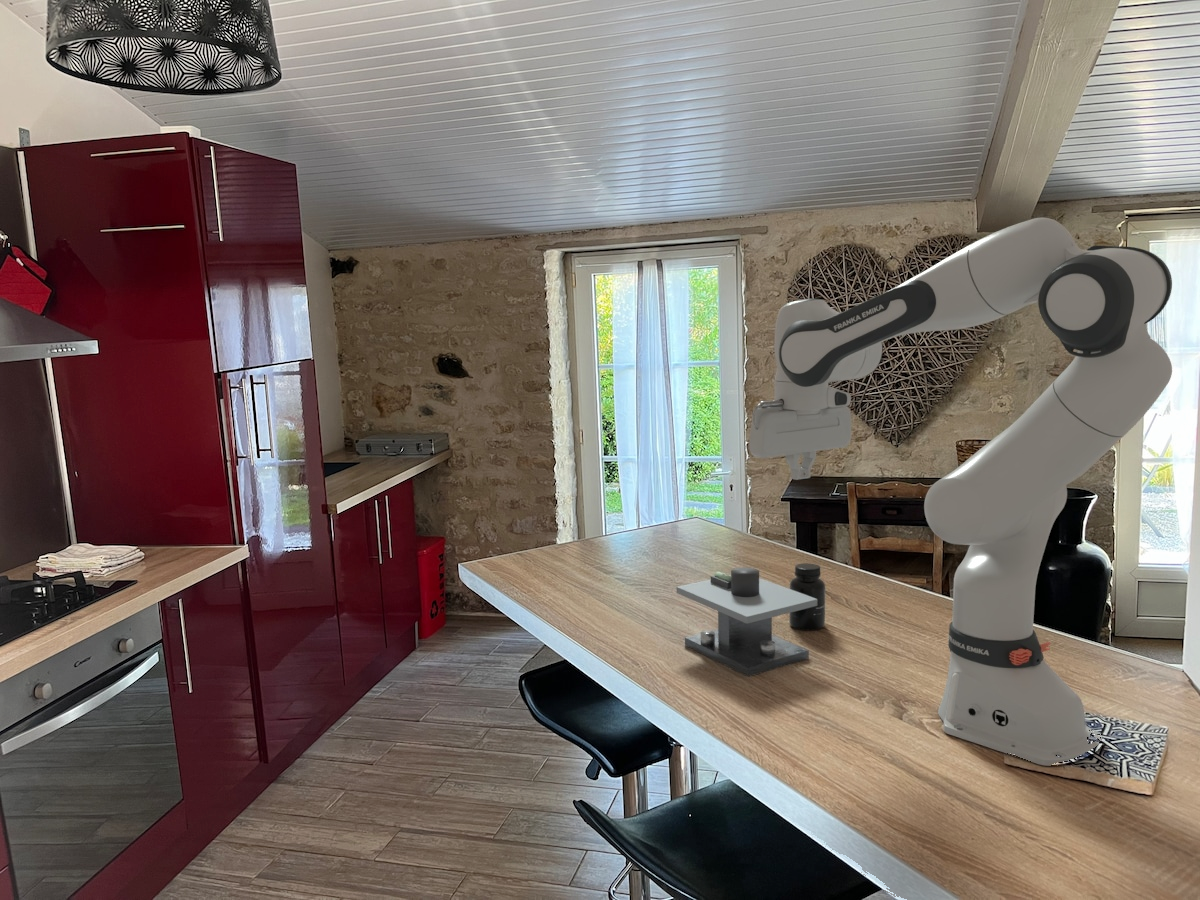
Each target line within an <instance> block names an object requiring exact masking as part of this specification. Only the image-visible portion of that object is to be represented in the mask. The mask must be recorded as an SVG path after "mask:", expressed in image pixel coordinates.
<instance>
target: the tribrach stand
mask: <svg viewBox="0 0 1200 900" xmlns="http://www.w3.org/2000/svg"><path fill="white" fill-rule="evenodd" d="M772 625H773V617H771V618H767V619H763V620H759V621H755V622H752V623H748V624H747V623H744V622H742V621H740V620H737V619H735V618H733V617H730V616H728V615H726V614H724V613H721V612H719V611H717V626H718V627H717V629H712V630H703V631H701V632H700V633H696V634H694V635H690V636H685V637H684V646H685V647H686V648H688V649H691V650H693V651H695V652H697V653H699V654H701V655H704V656H706V657H707V658H709V659H712V660H713V661H715V662H716V663H719V664H721V665H724V666H725V667H728V668H729V669H731V670H734V671H735V672H738V673H739V674H742V675H744V676H746V677H752V676H754V675H759V674H761V673H762V674H763V673H765V672H768V671H772V670H775V669H778V668H783V667H787V666H789V665H792V664H796V663H800V662H802V661H806V660H809V659H810V649H807V648H804V647H802V646H800V645H798V644H795V643H792V642H790V641H788V640H785V639H783V638H780V637H778V636H776V635H773V629H772V628H773V626H772Z"/></svg>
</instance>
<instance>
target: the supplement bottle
mask: <svg viewBox="0 0 1200 900" xmlns="http://www.w3.org/2000/svg"><path fill="white" fill-rule="evenodd" d="M794 566H795V567H794V578H792V579H791V580H790V582H789V589H791V590H794V591H797V592H799V593H802V594H805V595H807V596H810V597H813V598H816V599H817V606H814V607H810V608H806V609H802V610H799V611H795V612H791V613H788V614H789V616H788V618H789V624H790V627H792V628H794V629H796V630H800V631H818V630H820V629H823V627H825V625H826V624H825V623H826V622H825V621H826V620H825V619H826V584H825V582H824V580H823V579H822V578H820V577H821V566H820V565H819V564H815V563H798V564H796V565H794Z"/></svg>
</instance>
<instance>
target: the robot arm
mask: <svg viewBox="0 0 1200 900" xmlns="http://www.w3.org/2000/svg"><path fill="white" fill-rule="evenodd" d="M1172 289H1173V278H1172V274H1171V271H1170V269H1169V268H1168V265H1167V264H1166V263H1165V262H1164V260H1162V259H1161V258H1160V256H1158V255H1156V254H1155V253H1153V252H1151V251H1150V250H1149V251H1148V250H1146V249H1142V248H1139V247H1133V246H1120V245H1119V246H1113V245H1112V246H1111V245H1110V246H1109V245H1092V246H1090V247H1088V248H1087V249H1083V248H1080V247H1079V246H1078V245H1077V244H1076V242H1075V239H1074V238H1073V236H1072V234H1071V233H1070V231H1069V230H1068V229H1067V228H1066V227H1065V226H1064V225H1063V224H1061V222H1059V221H1058V220H1056V219H1052V218H1049V217H1036V218H1032V219H1027V220H1025V221H1022V222H1019V223H1015V224H1013V225H1010V226H1007V227H1005V228H1002V229H1000V230H997V231H995V232H993V233H990V234H988V235H986V236H984V237H982V238H980V239H978V240H976V241H974V242H972V243H970V244H968V245H967V246H964V247H963V248H962V249H961V248H960V250H958V251H956V252H954V253H953V254H951V255H950V256H947V257H945V258H944V259H942V260H941V261H939V262H938V263H937V262H936V263H935V264H934V265H932V266H931V267H929V268H927V269H926V270H924V271H922V272H920V273H918V274H917V275H914V276H912V277H911V278H909V279H907V280H906V281H904V282H902V283H901V284H899V285H897V286H895V287H893V288H892V289H890V290H887V291H885V292H883V293H880V294H878V295H877V296H874V297H872V298H870V299H868V300H866V301H863V302H861V303H859V304H857V305H855V306H853V307H850V308H849V309H846V310H843V311H842V312H839V311H837V310H836V309H834V308H833V307H830V305H829V304H828V303H827V302H826V301H825V300H823V299H820V298H805V299H802V300H801V299H799V300H795V301H790V302H788V303H785V304H784V305H783V306H781V307H780V309H779V310H778V314H777V315H776V316H777V317H776V321H775V328H774V329H775V330H774V357H775V360H776V371H775V376H774V399H773V400H768V401H767V400H763V401H760V402H759V403H758V404H757V405H756V406H755V407H754V409H752V420H751V424H750V430H749V431H750V433H749V443H748V448H749V452H750V453H751V456H753V457H756V458H761V459H769V458H777V457H783V456H785V461H786V463H787V465H788V467H789V469H790V478H791V479H792V480H796V481H798V480H803V479H810V478H811V476H812V475H811V474H812V473H811V471H812V468H813V465H814V463H815V460H816V459H817V452H819V451H826V450H828V451H829V450H835V449H842V448H847V447H848V446H849V444H850V443H851V440H852V413H851V410H850V409H849V407H848V406H850V404H851V402H852V396H851V393H849V392H848V391H847V392H846V391H843V390H840V389H838V388H836V387H833V386H829V383H834V382H835V383H836V382H842V381H843V382H844V381H850V380H857V379H861V378H864V377H866V376H869V375H871V374H872V373H874V371H876V370H877V368H878V367H879V365H880V363H881V361H882V357H883V350H884V347H883V343H884V342H885V341H887V340H890V339H893V338H897V337H899V336H905V335H910V334H916V333H927V332H939V331H940V332H941V331H957V330H964V329H968V328H969V329H970V328H973V327H978V326H981V325H984V324H988V323H991V322H993V321H996V320H999V319H1001V318H1004V317H1006V316H1008V315H1010V314H1012V313H1014V312H1017V311H1019V310H1020V309H1021V310H1022V309H1023V308H1026V307H1027V306H1030V305H1034V304H1036V303H1038V304H1037V306H1038V311H1039V313H1040V316H1041V318H1042V320H1043V323H1044V324H1045V325H1046V326H1047V328H1048V329H1049V330H1050V332H1051V333H1053V334H1054V335H1055V336H1056V337H1057V338H1058V339H1059V341H1060V343H1061V344H1062V346H1063V347H1064V349H1065V350H1066V352H1068V353H1069V354H1070V355H1072V356H1075V357H1074V359H1073V360H1072V361H1071V363H1070V364H1069V365H1068V366H1067V367H1066V368H1065V369H1064V370H1063V371H1062V372H1061V374H1059V376H1057V378H1056V379H1055V380H1053V382H1052V383H1051V384H1050V385H1049V386H1048V387H1047V388H1046V389H1045V390H1044V391H1043V392H1042V393H1041V394H1040V395H1039V397H1037V399H1036V400H1035V401H1034V402H1033V403H1032V404H1030V406H1029V407H1028V408H1027V409H1026V410H1025V411H1024V412H1023V414H1021V415H1020V416H1019V417H1018V418H1017V419H1016V420H1015V421H1014V422H1013V423H1012V424H1011V425H1010V426H1008V427H1007V428H1006V429H1004V430H1003V431H1002V432H1000V433H999V434H997V436H995V437H993V439H991V440H989V442H987V443H986V444H985V445H984V446H982V447H981V448H980V449H979V450H977V451H975V453H974V454H972V455H971V456H970V457H969V458H967V460H965V461H964V462H962V464H960V465H959V466H958V467H957V468H956V469H954V470H953V471H951V472H950V473H948V474H946V475H945V476H943V477H942V478H940V479H939V480H937V481H935V482H934V483H932V485H931V486H930V487H929V489H928V491H927V493H926V494H925V498H924V504H923V510H924V516H925V518H926V519H925V520H926V522H927V525H928V526H929V528H930V529H931V531H932V533H934V535H936V536H937V537H938V538H939V539H940V540H942V541H944V542H946V543H949V544H952V545H961V546H968V549H967V552H966V553H965V556H964V558H963V560H962V561H961V563H960V564H959V565H958V566H957V568H956V570H955V572H954V577H953V592H952V593H953V595H952V619H951V620H952V621H951V622H950V623H949V627H948V644H947V645H948V649H949V652H950V657H949V666H948V673H947V677H946V678H947V679H946V683H945V687H944V692H943V694H942V699H941V702H940V704H939V707H938V709H937V713H938V715H939V717H940V719H941V721H942V722H943V725H942V730H943V732H944V733H945V734H948V735H950V736H953V737H956V738H959V739H962V740H964V741H968V742H971V743H973V744H976V745H981V746H983V747H985V748H989V749H992V750H995V751H998V752H1001V753H1003V754H1007V753H1008V754H1007V755H1010V753H1011V754H1015V755H1016V756H1018V757H1020V758H1019V759H1021V758H1023V760H1024V759H1026V760H1025V761H1027V760H1028V762H1030V761H1031V763H1034V764H1037V765H1039V766H1044V767H1046V766H1047V767H1051V765H1052V764H1054V763H1055V764H1056V763H1057V762H1063V761H1068V760H1070V759H1074V758H1076V757H1079V756H1080V755H1082V754H1084V753H1085V752H1087V751H1089V750H1091V749H1093V748H1095V747H1096V746H1097V745H1099V742H1092V744H1091V741H1090V744H1088V742H1089V740H1088V741H1087V737H1090V734H1091V733H1094V734H1095V735H1094V738H1098V739H1099V740H1100V741H1101V740H1102V737H1103V736H1102V737H1101V739H1100V736H1101V734H1102V733H1101V732H1099V731H1097V730H1095V729H1093V730H1092V732H1091V729H1092V728H1091V727H1089V726H1087V724H1086V713H1085V708H1084V704H1083V701H1082V699H1081V697H1080V696H1079V695H1078V693H1076V692H1075V691H1074V690H1073V689H1072V688H1071V687H1070V686H1069V685H1068V684H1067V683H1066V682H1065V681H1064V680H1063V679H1062V678H1061V676H1060V675H1058V673H1057V672H1055V671H1054V669H1053V668H1051V666H1050V665H1049V664H1048V663H1047V662H1046V661H1045V659H1044V657H1045V656H1044V654H1043V652H1046V651H1049V650H1050V649H1051V648H1050V647H1049V646H1050V645H1051V642H1050V641H1047V642H1044V643H1041V644H1040V641H1039V639H1038V636H1037V633H1036V631H1035V629H1034V618H1035V617H1034V615H1035V600H1036V585H1037V579H1038V574H1039V571H1040V566H1041V562H1042V560H1043V556H1044V553H1045V550H1046V546H1047V543H1048V540H1049V536H1050V533H1051V530H1052V528H1053V525H1054V523H1055V521H1056V519H1057V518H1058V516H1059V515H1060V513H1061V512H1062V511H1063V509H1064V508H1065V505H1066V504H1067V499H1068V489H1067V485H1069V484H1070V483H1072V482H1073V481H1075V480H1077V479H1078V478H1080V477H1082V476H1083V475H1084V474H1086V472H1087V471H1089V470H1090V469H1091V468H1092V467H1093V466H1094V465H1095V464H1096V463H1097V462H1098V461H1099V460H1101V458H1102V457H1103V456H1104V455H1105V454H1106V453H1108V451H1110V450H1111V449H1112V448H1113V447H1114V446H1115V445H1116V444H1117V443H1118V442H1119V441H1120V440H1121V439H1122V438H1123V437H1124V436H1125V435H1126V434H1128V433H1129V432H1130V430H1132V428H1134V427H1135V426H1136V424H1138V422H1139V421H1140V420H1141V419H1143V417H1144V416H1145V415H1146V414H1147V412H1148V411H1149V410H1150V409H1151V407H1152V406H1154V403H1156V401H1157V400H1158V398H1159V397H1160V396H1161V394H1162V393H1163V391H1164V390H1165V389H1166V387H1167V386H1168V384H1169V383H1170V380H1171V378H1172V376H1173V366H1172V361H1171V359H1170V357H1169V355H1168V353H1167V352H1166V351H1165V349H1164V348H1163V347H1162V346H1161V345H1160V344H1159V343H1158V342H1157V341H1155V340H1154V339H1152V338H1151V335H1150V334H1149V332H1148V328H1147V325H1148V323H1149V322H1151V321H1153V320H1154V319H1156V317H1158V315H1159V314H1160V313H1161V312H1162V311H1163V310H1164V308H1165V307H1166V306H1167V303H1168V302H1169V300H1170V297H1171V294H1172ZM1074 350H1076V351H1074ZM801 457H803V460H802V462H801V464H800V463H799V460H801ZM1089 730H1090V731H1089ZM1094 730H1095V731H1094ZM1088 731H1089V732H1088ZM1093 731H1094V732H1093ZM1096 731H1097V732H1096ZM1096 734H1100V736H1098V735H1096ZM1092 735H1093V734H1092ZM1091 737H1092V736H1091ZM1056 755H1058V756H1061V757H1056ZM1016 756H1015V757H1016ZM1018 757H1017V758H1018Z"/></svg>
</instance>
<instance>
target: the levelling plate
mask: <svg viewBox="0 0 1200 900" xmlns="http://www.w3.org/2000/svg"><path fill="white" fill-rule="evenodd" d="M676 594H677V595H681V596H683V597H685V598H686V599H689V600H692V601H694V602H697V603H698V604H701V605H703V606H705V607H708V608H710V609H713V610H715V611H717V612H718V611H719V612H721V613H724V614H726V615H728V616H730V617H733V618H735V619H737V620H740V621H742V622H744V623H747V624H748V623H752V622H755V621H759V620H763V619H767V618H771V617H772V618H775V617H778V616H782V615H786V614H789V613H791V612H795V611H799V610H802V609H806V608H810V607H814V606H817V599H816V598H813V597H810V596H807V595H805V594H802V593H799V592H797V591H794V590H791V589H790V588H789V587H788V588H787V587H785V586H783V585H780V584H778V583H774V582H771V581H770V580H766V579H763V578H760V570H758V569H757V568H755V567H744V566H743V567H735V568H733V569H731V570H730V574H726V573H725V572H720V571H716V572H715V573H714V575H710V579H706V580H701V581H698V582H693V583H688V584H683V585H679V586H676Z"/></svg>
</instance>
